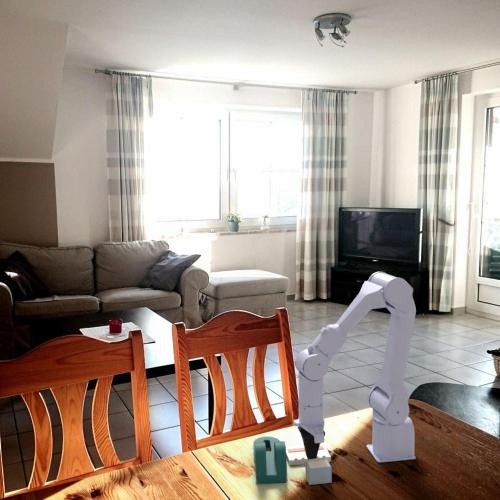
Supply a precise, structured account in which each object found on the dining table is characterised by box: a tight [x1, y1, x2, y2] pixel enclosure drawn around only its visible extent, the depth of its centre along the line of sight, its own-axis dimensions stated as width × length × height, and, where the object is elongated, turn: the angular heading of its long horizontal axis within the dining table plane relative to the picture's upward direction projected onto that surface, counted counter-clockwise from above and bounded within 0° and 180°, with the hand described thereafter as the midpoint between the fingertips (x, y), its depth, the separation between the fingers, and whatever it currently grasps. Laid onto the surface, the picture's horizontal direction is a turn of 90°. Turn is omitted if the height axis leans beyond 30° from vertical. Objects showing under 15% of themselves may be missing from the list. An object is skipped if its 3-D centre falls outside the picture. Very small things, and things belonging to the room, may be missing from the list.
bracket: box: [252, 436, 288, 485], centre depth 128 cm, size 18×7×8 cm, turn 2°
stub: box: [304, 459, 333, 486], centre depth 121 cm, size 5×4×4 cm
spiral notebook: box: [286, 443, 332, 466], centre depth 131 cm, size 10×6×1 cm, turn 98°
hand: (311, 457), depth 127 cm, fingers closed
